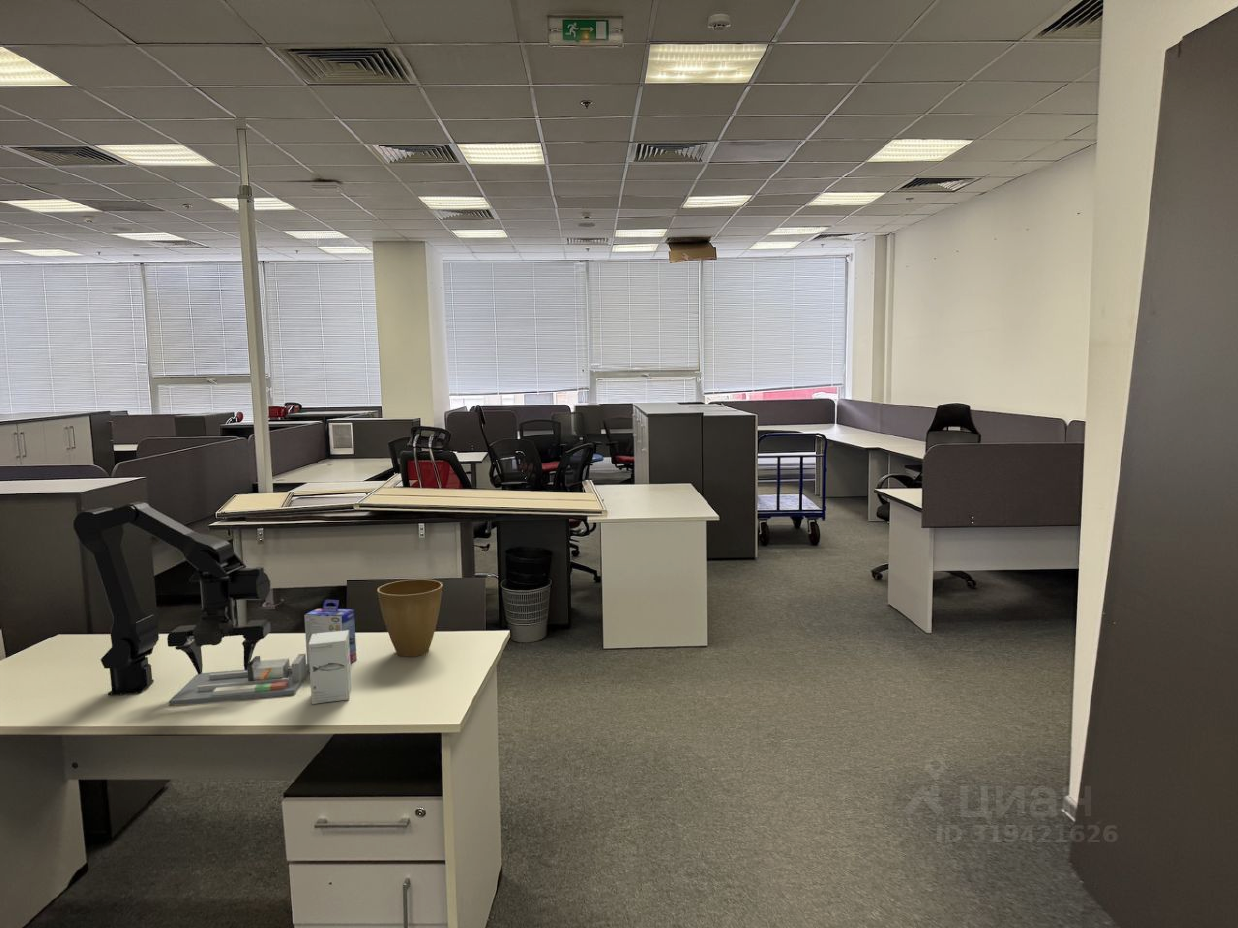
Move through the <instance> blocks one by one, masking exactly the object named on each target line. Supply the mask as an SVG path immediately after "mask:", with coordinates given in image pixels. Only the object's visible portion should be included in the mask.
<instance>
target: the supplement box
mask: <svg viewBox="0 0 1238 928" xmlns="http://www.w3.org/2000/svg"><path fill="white" fill-rule="evenodd" d="M308 647H309V664H310V672H309V674H310V675H309V676H310V680H309V681H310V692H311V693H310V694H311V696H310V697H311V705H316V704H321V703H322V704H323V703H331V702H338V701H348V700H350V695H351V690H352V668H351V666H352V665H351V664H352V663H350V646H349V630H346V631H337V632H326V633H316V634H312V636H311V639H310V642H309V645H308Z"/></svg>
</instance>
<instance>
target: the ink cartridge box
mask: <svg viewBox="0 0 1238 928" xmlns="http://www.w3.org/2000/svg"><path fill="white" fill-rule="evenodd" d="M331 603H332V604H334V606H331V605H327V604H331ZM339 604H340V600H339V599H325V600H324V603H323V606H322V608H316V609H313V610H311V611H308V612H307V613H305V614H304V615H303V616H304V617H303V618H304V632H305V634H304V635H305V649H306V650H305V651H306V653H305V654H306V664H309V647H308V645H309V642H310V639H311V636H312V634H316V633H326V632H337V631H346V630H349V646H350V664H352V663H354V662H356V661H357V642H356V629H355V628H356V626H355V610H354V608H353V609H349V608H339ZM355 660H356V661H355Z"/></svg>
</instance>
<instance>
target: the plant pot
mask: <svg viewBox="0 0 1238 928" xmlns="http://www.w3.org/2000/svg"><path fill="white" fill-rule="evenodd" d="M443 586H444V585H443V582H441V581H438V580H434V579H425V578H424V579H422V578H420V579H419V578H417V579H416V578H415V579H403V580H398V581H393V582H389V583H385V584H384V585H381V586H379V587H378V588H377V597H378V600H379V601H378V602H379V605H380V610H381V614H382V618H383V622H384V623H385V628H386V631H387V632H388V635H389V638H390V642H391V644H392V646H393V648H394V650H395V652H396V654H397V655H398V656H400V657H405V658H411V657H418V655H419V656H422V654H423V655H424V653H425V654H427V653H428V651H430V648H431V645H432V642H433V639H434V635H435V632H436V627H437V625H438V624H437V623H438V619H439V614H440V608H441V602H442V594H443ZM426 652H427V653H426Z"/></svg>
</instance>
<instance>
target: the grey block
mask: <svg viewBox="0 0 1238 928" xmlns="http://www.w3.org/2000/svg"><path fill="white" fill-rule="evenodd" d="M290 666H291V665H290V658H280V659H279V658H278V659H266V660H261V655H258V656H257V655H256V656H255V655H254V657H252V658H251V661H250V663H249V664H248V665H247V672H248V681H258V680H269V679H281V678H286V677H287V675H288V674H289V673H290Z"/></svg>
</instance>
